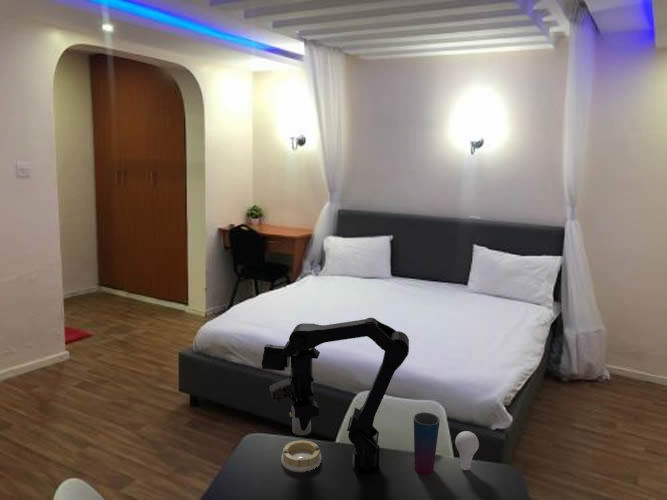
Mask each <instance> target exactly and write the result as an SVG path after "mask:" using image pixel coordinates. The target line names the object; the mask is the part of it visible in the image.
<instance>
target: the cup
mask: <svg viewBox="0 0 667 500" xmlns="http://www.w3.org/2000/svg"><path fill="white" fill-rule="evenodd" d="M440 421H441V419H440V417H439V416H438V415H436V414H434V413H431V412H425V411H424V412H417V413H416V414H415V415H414V416H413V440H414V441H413V443H414V444H413V448H414V450H413V453H414V471H415V472H416V473H417V474H419V475H423V476H430V475H432V474H433V473H434V471H435V460H436V453H437V445H438V437H439V430H440Z"/></svg>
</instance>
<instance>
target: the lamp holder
mask: <svg viewBox="0 0 667 500" xmlns="http://www.w3.org/2000/svg"><path fill="white" fill-rule="evenodd" d="M280 459H281V465H282V467H284V468H285V469H286V470H287V471H290V472H293V473H307V472H306V471H308V472H312V471H314V470H316V469H317V468H318V467H319V466H321V464H322V453H321V450H320V447H319V445H318V444H316V443H315V442H313V441H309V440H305V439H304V440H303V439H300V440H294V441H290V442H288V443H287V444H285V446H284V447H283V449H282V454H281V457H280ZM320 463H321V464H320ZM316 467H317V468H316ZM315 468H316V469H315ZM313 469H314V470H313ZM311 470H312V471H311Z"/></svg>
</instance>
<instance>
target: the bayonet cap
mask: <svg viewBox="0 0 667 500" xmlns="http://www.w3.org/2000/svg"><path fill="white" fill-rule="evenodd" d="M292 408H293V404H291V411H290V412H289V416H290V417H289V418H291V417H292V422H291V423H292V425H291V426H292V433H293V434H295V435H297V436H306V435H308V434H310V433H311V431H312V422H311V421H312V419H311V420H310V422H309V424H308V426H307V428H306V430H304V431H302V430H301V427H300V422H299V418H296V417H295V416H294V413H293V409H292Z"/></svg>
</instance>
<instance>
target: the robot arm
mask: <svg viewBox="0 0 667 500" xmlns="http://www.w3.org/2000/svg"><path fill="white" fill-rule="evenodd" d="M365 337H368V339H371V340H372V341H373V342H374V343H375V344H376V345H377V346H378V348H380V349H381V350H382V351H383V353H384V354H383V358H382V362H381V364H380V366H379V369H378V371H377V373H376V376H375V378H374V380H373V382H372V384H371V387H370V388H369V391H368V393H367V397H366V398H365V401H364V402H363V404H362V406H361V407H360V408H357V407H354V410H353V412H352V415H351V417H350V418H349V419H348V425H347V429H346V431H347V432H348V435H347V437H348V440H349V442H350V443H351V444H352V445H353V447H354V449H352V452H351V453H352V454H351V455H352V458H351V461H352V462H351V463H352V466H353V469H355V471H356V474H357V475H363V474H371V473H372V474H373V473H380V472H382V469H381V466H380V453H381V451H380V449H381V447H380V445H379V435H380V432H379V431H378V429H376V427H375V426H374V423H375V422H374V420H375V417H376V415H377V412H378V410H379V408H380V405H381V404H382V401H383V398H384V396H385V394H386V392H387V390H388V387H389V386H390V383H391V381H392V379H393V377H394V374H395V372H396V370H398V369H399V368H400V367H401V366H402V364H403V363H404V362H405V360H406V358H407V357H408V355H409V352H410V339H409V337H408V335H407V333H405V332H403V331H400V330H398V331H397V330H396V329H394V328H393V327H391V326H389V325H387V324H385V323H382V322H380V321H379V320H377V319H376V318H374V317H367V318H364V319H359V320H352V321H344V322H338V323H332V324H331V323H330V324H325V325H324V324H323V325H322V324H318V323H317V324H316V323H307V322H306V323H303V322H302V323H299V324H297V325H296V326H295V327H294V329H293V330H292V331H291V333H290V335H289V337H288V340H287V341H286V343H285V345H276V344H275V345H273V344H268V343H266V344H265V345H264V347H263V355H262V359H261V367H262V370H263V371H274V372H275V371H276V372H284V371H285V370H286V368H289V367H290V372H289V374H288V378H286V379H282V380H280V381H277V382H274V383H273V384H270V386H269V392H270V395H271V397H272V399H273V401H274V403H276V404H277V403H280V402H282V401H284V400H286V399H288V398H289V399H290V400H291V401H292V402H294V403H293V404H292V405H293V408H292V407H291V410H292V409H293V413H294V416H295V417H296V418H299V422H300V427H301V430H302V431H304V430H306V428H307V426H308V424H309V422H310V420H311V421H312V418H314V417H318V416H319V410H320V409H319V406H318V403H317V401H315V400H314V399H311V397H314V394H315V393H314V390H313V383H314V382H315V379H314V375H313V359H314V360H317V359H318V358H319V356H320V354H321V353H320V351H319V350H318V349H316V347H318V346H320V345H322V344H324V343H331V342H337V341H344V340H350V339H352V340H353V339H359V338H365Z"/></svg>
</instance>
